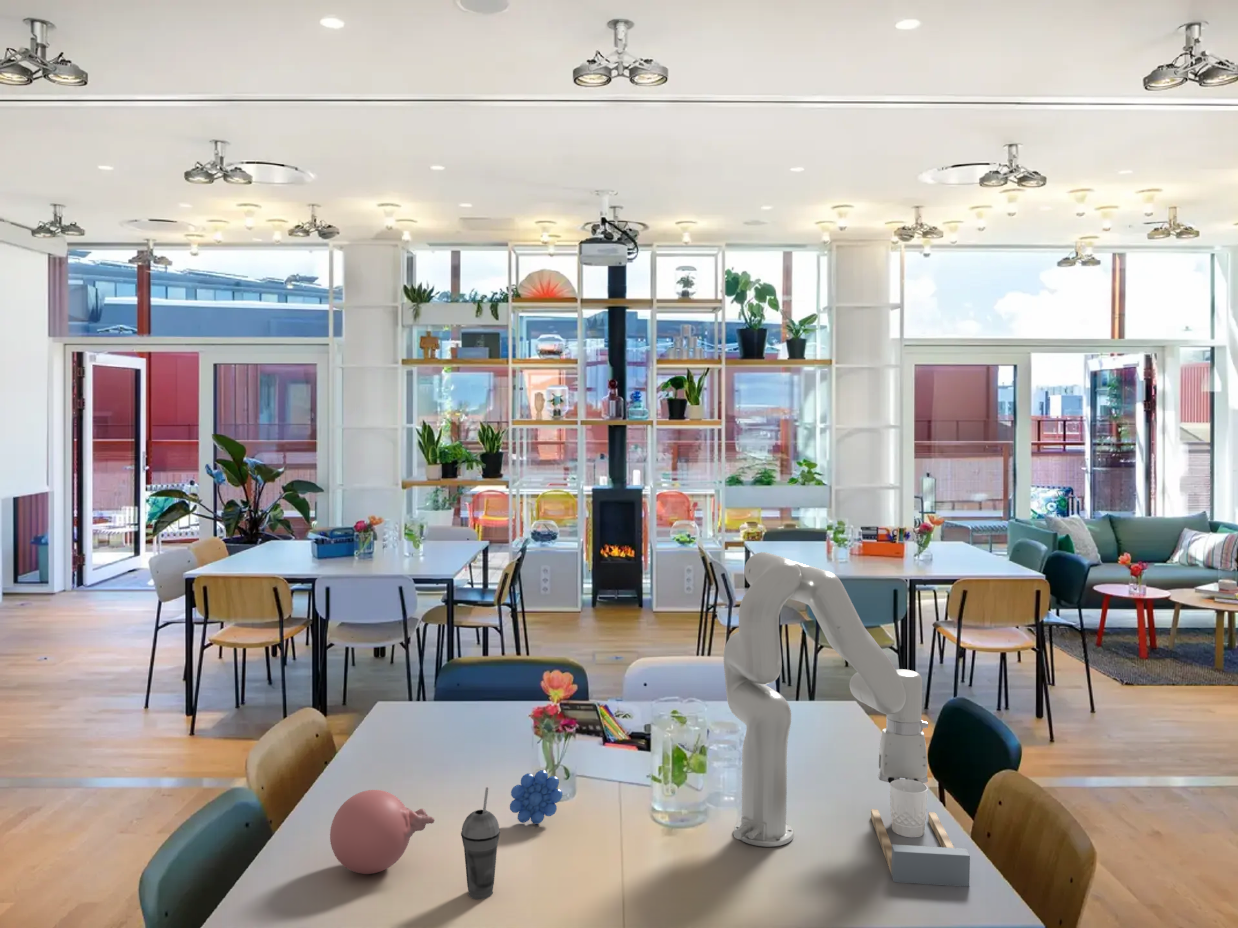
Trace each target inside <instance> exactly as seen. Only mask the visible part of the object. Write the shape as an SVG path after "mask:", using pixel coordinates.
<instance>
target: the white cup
mask: <svg viewBox="0 0 1238 928" xmlns="http://www.w3.org/2000/svg"><path fill="white" fill-rule="evenodd" d="M928 791H929V787H928V786H927V785H926V783H921V782H918V781H915V780H909V779H905V778H900V779H898V780H894V781H892V782H890V783H889V795H890V796H889V798H890V799H889V801H890V805H889V806H890V817H891V829H892V831H893V833H895V834H897V835H899V836H901V837H906V838H920V837H923V835H924V834H925V831H926V830H925V827H926V819H927V810H928V809H927V807H928V793H929V792H928Z"/></svg>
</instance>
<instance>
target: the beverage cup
mask: <svg viewBox="0 0 1238 928" xmlns="http://www.w3.org/2000/svg"><path fill="white" fill-rule="evenodd" d="M488 794H489V787H485V791H484V797H483V798H484V800H483V807H482V809H477V810H474V811H472V812H471V813H469V814H468V815H467V816H466V818H465V820H464V821H463V824H462V827H461V831H460V836H461V840H462V845H463V851H464V860H465V861H464V862H465V873H466V874H465V875H466V886H467V890H468V891H467V892H468V893H467V894H468V897H469V898H471V899H473V900H485V899H488V898H489V897H492V895H493V892H494V891H493V890H494V885H495V875H496V874H495V873H496V866H497V865H496V864H497V853H498V852H497V851H498V844H499V841H500V834H501V831H500V830H501V829H500V824H499V822H498V819H497V817H496V816H495V815H494V814H493V813H492V812H491V811H489V810H487V803H488V802H487V801H488V796H489V795H488Z"/></svg>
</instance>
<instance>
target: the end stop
mask: <svg viewBox="0 0 1238 928" xmlns="http://www.w3.org/2000/svg"><path fill="white" fill-rule="evenodd" d="M891 845H892V866H891V872H890V874H891V878H892V880H893V882H894V883H904V884H905V883H907V884H921V885H922V884H923V885H935V886H936V885H937V886H940V885H941V886H952V887H953V886H955V887H970V879H971V878H970V876H971V875H970V873H971V871H970V868H971V864H970V863H971V855H970V853H969V852H968V850H967V848H962V847H961V848H959V847H954V848H945V847H941V846H927V845H926V846H924V845H907V844H893V843H891Z"/></svg>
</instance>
